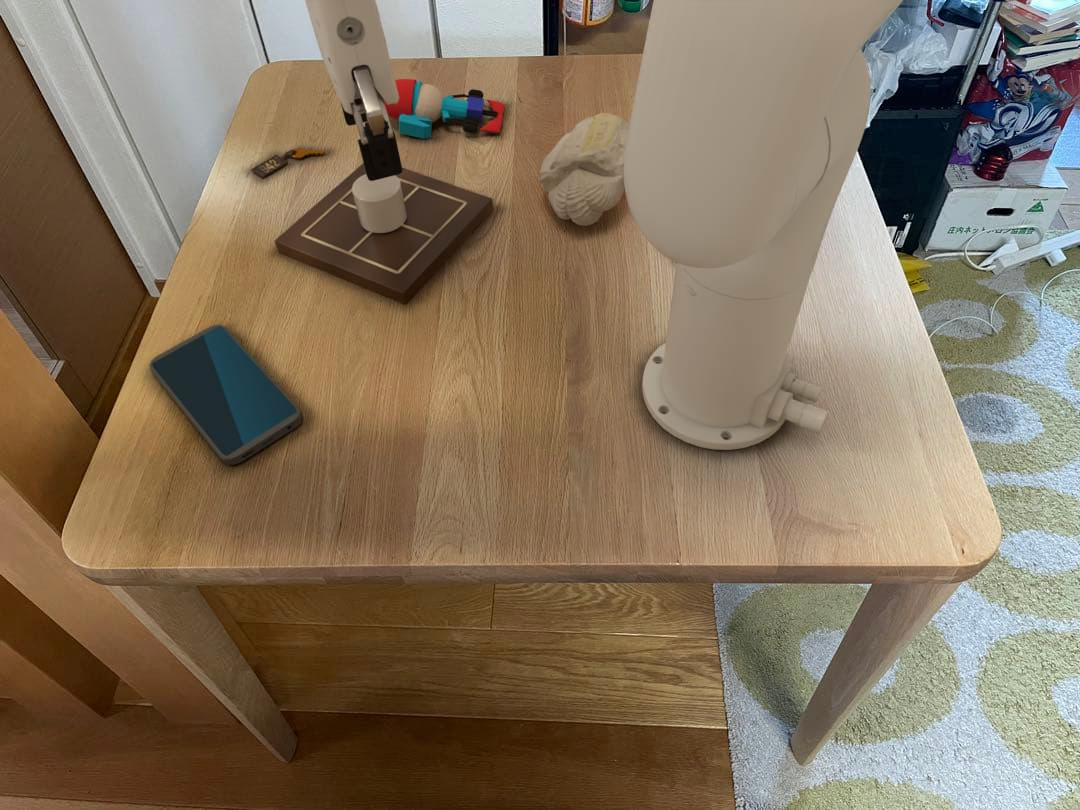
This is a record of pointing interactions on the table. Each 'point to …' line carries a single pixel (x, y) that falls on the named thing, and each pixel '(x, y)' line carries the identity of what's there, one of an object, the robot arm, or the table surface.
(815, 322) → the table surface
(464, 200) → the board
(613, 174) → the fossil replica
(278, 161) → the key tag
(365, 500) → the table surface
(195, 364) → the smartphone
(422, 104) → the toy figure
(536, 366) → the table surface
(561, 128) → the table surface
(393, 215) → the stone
